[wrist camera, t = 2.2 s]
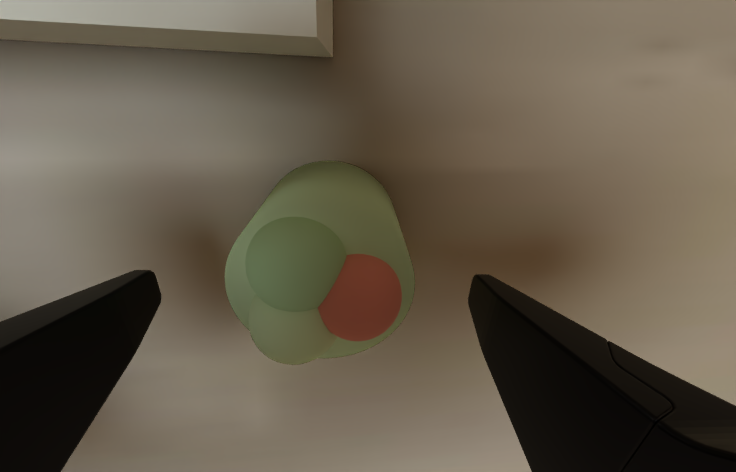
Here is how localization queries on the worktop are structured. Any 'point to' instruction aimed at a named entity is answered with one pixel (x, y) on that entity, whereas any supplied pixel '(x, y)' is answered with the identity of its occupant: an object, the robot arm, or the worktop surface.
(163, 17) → the serving bin
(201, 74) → the worktop surface
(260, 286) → the salad portion
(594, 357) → the robot arm
